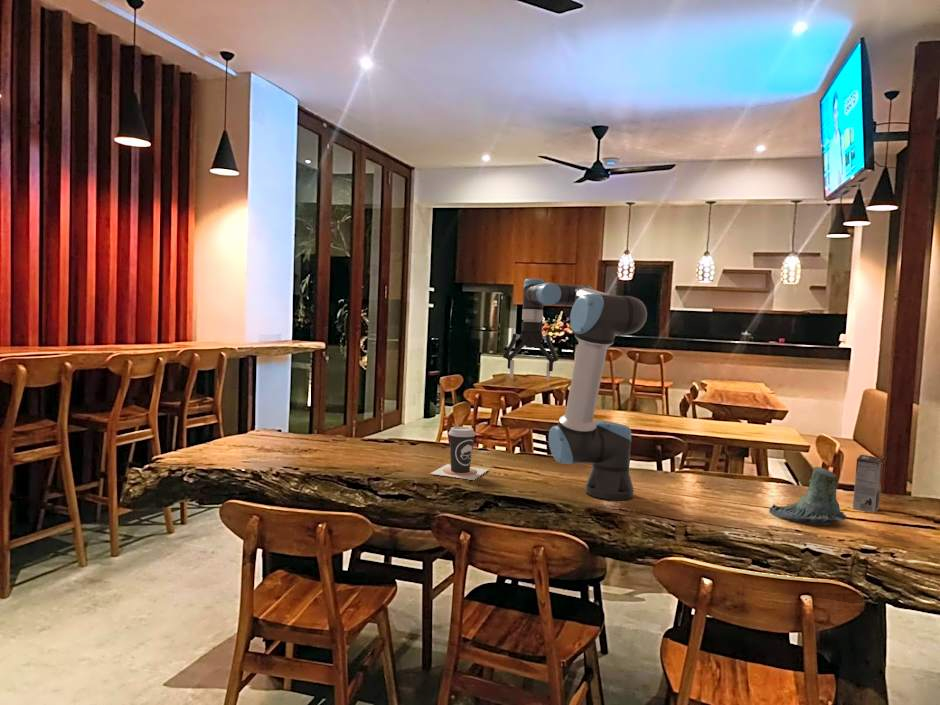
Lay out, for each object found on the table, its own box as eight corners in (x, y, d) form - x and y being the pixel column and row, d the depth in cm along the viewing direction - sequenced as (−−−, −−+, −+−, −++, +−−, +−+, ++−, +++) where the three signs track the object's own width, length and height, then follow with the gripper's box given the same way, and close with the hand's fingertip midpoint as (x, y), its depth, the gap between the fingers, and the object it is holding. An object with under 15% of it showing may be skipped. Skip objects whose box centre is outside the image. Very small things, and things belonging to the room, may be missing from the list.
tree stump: (788, 505, 203) (807, 454, 199) (851, 539, 187) (873, 484, 183) (756, 510, 192) (775, 456, 188) (819, 547, 176) (842, 488, 172)
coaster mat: (488, 471, 228) (488, 468, 228) (473, 481, 213) (473, 478, 213) (447, 465, 234) (447, 463, 234) (429, 475, 219) (429, 472, 219)
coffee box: (856, 503, 207) (860, 454, 206) (879, 507, 203) (884, 457, 202) (851, 509, 200) (855, 458, 199) (875, 513, 196) (880, 462, 195)
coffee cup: (474, 468, 228) (476, 427, 227) (472, 475, 218) (474, 431, 217) (448, 466, 228) (450, 425, 228) (444, 473, 219) (446, 430, 218)
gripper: (567, 322, 232) (565, 380, 233) (501, 320, 240) (499, 376, 241) (564, 322, 225) (561, 382, 226) (496, 319, 233) (494, 377, 234)
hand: (529, 379), depth 234 cm, fingers open, 13 cm apart
